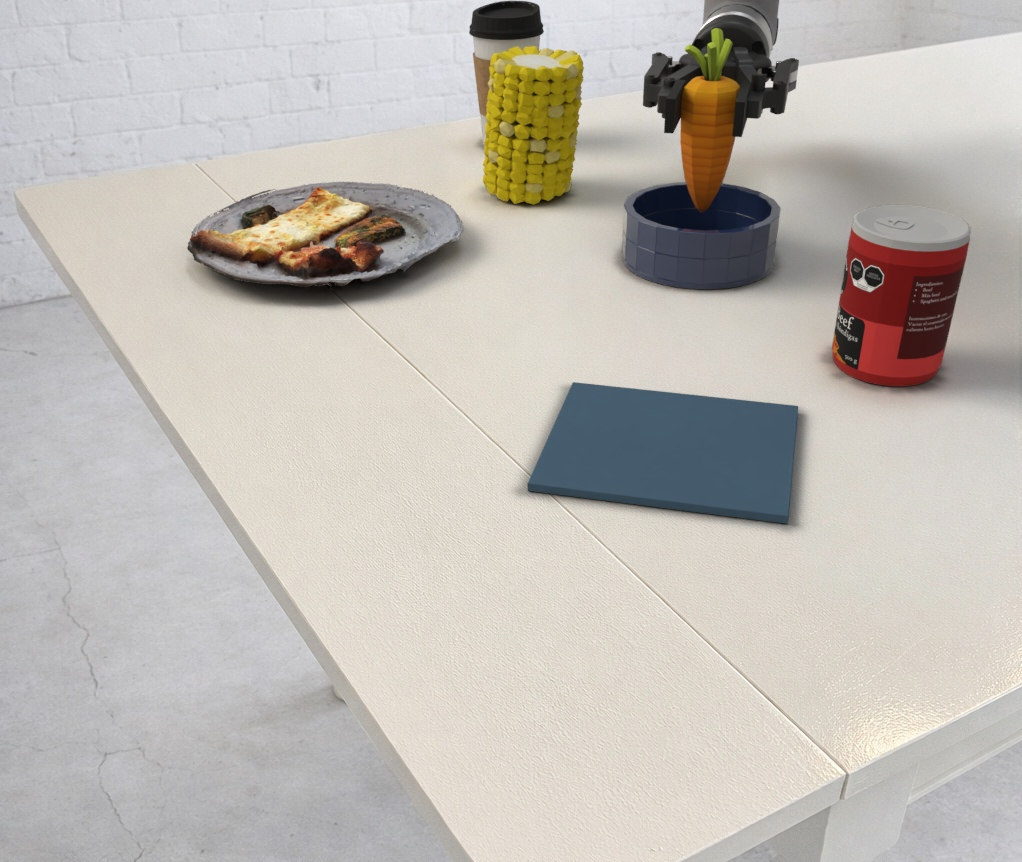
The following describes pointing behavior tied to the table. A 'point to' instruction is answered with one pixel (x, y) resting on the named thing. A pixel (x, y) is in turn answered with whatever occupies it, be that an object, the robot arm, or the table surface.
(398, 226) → the food plate
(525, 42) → the coffee cup
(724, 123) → the carrot
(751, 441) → the blue rectangular board
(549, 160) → the food
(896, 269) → the canned food
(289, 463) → the table surface
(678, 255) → the pot
